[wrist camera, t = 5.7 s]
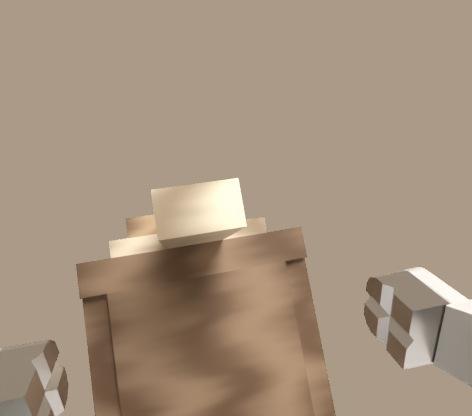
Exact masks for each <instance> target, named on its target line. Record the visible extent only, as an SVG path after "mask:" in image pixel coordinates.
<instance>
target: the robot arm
mask: <svg viewBox="0 0 472 416" xmlns="http://www.w3.org/2000/svg"><path fill="white" fill-rule="evenodd" d="M366 291H367V292H368V293H369V295H370V297H369V299H368V300H367V301H366V303H365V308H364V315H365V319H366V323H367V325H368V327H369V329H370V331H371V332H372V333H373V334H374V336H375V337H376V338H378V339H380V340H382V341H384V342H386V343H387V351H388V352H389V353H390V354H391V356H392V357H393V358H394V359H395V361H396V362H397V363H398V364H399V365H400V366H401V367H402V369H403V370H404V369H408V368H413V367H418V366H422V365H427V364H431V363H434V365H435V366H436V367H438V368H440V369H442V370H443V371H445V372H447V373H449V374H450V375H452V376H454V377H456V378H457V379H459V380H461V381H463V382H464V383H466V384H468V385H469V386H471V387H472V299H471V300H468V299H467V298H465V297H464V296H463V295H461V294H460V293H458V292H457V291H456V290H454V289H453V288H451V287H450V286H449V285H447V284H445V283H444V282H443V281H442V280H440V279H439V278H437V277H436V276H434V275H433V274H432V273H430V272H429V271H427V270H426V269H424V268H421V267H416V268H411V269H407V270H403V271H400V272H395V273H390V274H386V275H380V276H375V277H370V278H369V280H368V282H367V286H366ZM58 354H59V351H58V349H57V346H56V343H55V342H54V341H52V340H46V341H40V342H34V343H29V344H22V345H17V346H11V347H5V348H1V349H0V416H59V415H60V414H61V413H62V412H63V411H64V409H65V405H66V401H67V391H68V381H67V375H66V371H65V368H64V366H62V365H60V364H59V363H57V362H56V360H57V357H58Z"/></svg>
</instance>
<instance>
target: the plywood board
mask: <svg viewBox="0 0 472 416" xmlns="http://www.w3.org/2000/svg"><path fill="white" fill-rule="evenodd" d="M151 195H152V201H153V209H154V215H148V216H142V217H134V218H128V219H126V225H127V233H128V239H120V240H114V241H109V245H110V254H111V258H116V257H122V256H128V255H134V254H140V253H146V252H152V251H158V250H164V249H170V248H176V247H183V246H189V245H195V244H201V243H207V242H213V241H219V240H225V239H231V238H237V237H243V236H249V235H255V234H261V233H267V229H266V224H265V218H264V217H261V218H254V219H248V220H246V219H245V213H244V207H243V202H242V196H241V191H240V186H239V179H238V178H235V179H228V180H220V181H213V182H206V183H198V184H190V185H183V186H176V187H168V188H160V189H153V190H151Z"/></svg>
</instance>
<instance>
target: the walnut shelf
mask: <svg viewBox="0 0 472 416" xmlns="http://www.w3.org/2000/svg"><path fill="white" fill-rule="evenodd" d="M305 257H307V255H306V250H305V245H304V240H303V235H302V230H301V227H297V228H291V229H285V230H280V231H273V232H267V233H261V234H255V235H249V236H243V237H237V238H231V239H225V240H219V241H213V242H207V243H201V244H195V245H189V246H183V247H176V248H170V249H164V250H158V251H152V252H146V253H140V254H134V255H128V256H122V257H116V258H110V259H104V260H98V261H92V262H86V263H80V264H76V267H77V275H78V276H77V277H78V286H79V294H80V299H81V298H82V299H83V308H84V317H85V326H86V335H87V345H88V354H89V363H90V372H91V381H92V391H93V400H94V409H95V416H336V415H335V410H334V405H333V400H332V395H331V390H330V385H329V380H328V375H327V370H326V365H325V360H324V354H323V349H322V344H321V339H320V334H319V329H318V324H317V320H316V314H315V309H314V304H313V299H312V294H311V289H310V284H309V279H308V274H307V268H306V263H305Z"/></svg>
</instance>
